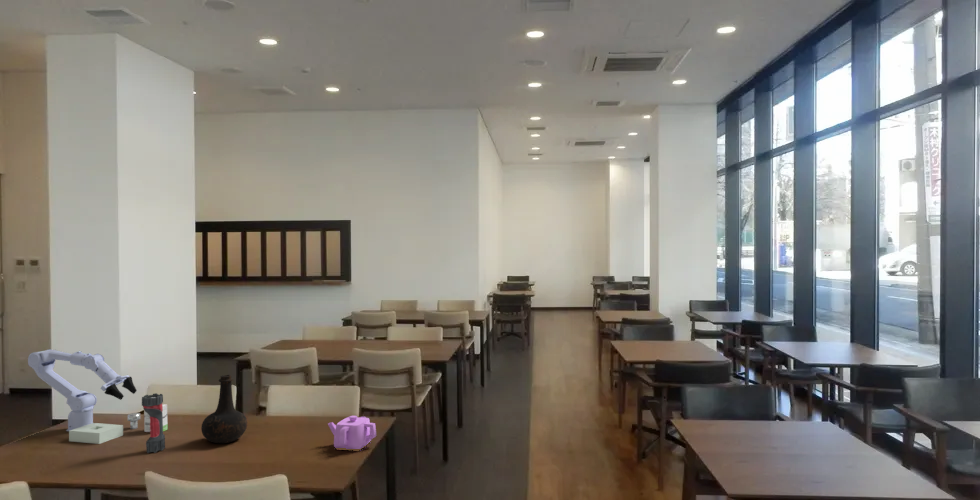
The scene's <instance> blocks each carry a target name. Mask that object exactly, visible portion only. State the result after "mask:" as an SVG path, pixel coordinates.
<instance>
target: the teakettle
mask: <svg viewBox="0 0 980 500" xmlns="http://www.w3.org/2000/svg"><path fill="white" fill-rule="evenodd" d="M327 425H328V427H329V429H330V431H331V433H332V434H333V447H335V448H346V449H361V448H363V447H364V446H366V445H367V444H368V443H369V442H370V441H372V440H373V439H374V438H376V437H377V429H376V423H374V422H370V418H369V417H366V416H360V417H358V416H357V415H349V416H347V417H345V418H344V419H342V420H340V421H339V422H337V424H335V423H334V422H333V421H332V422H329V423H328V422H327ZM370 443H371V442H370ZM335 448H334V449H335Z"/></svg>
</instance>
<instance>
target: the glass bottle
mask: <svg viewBox="0 0 980 500" xmlns="http://www.w3.org/2000/svg"><path fill="white" fill-rule="evenodd" d="M233 381H234V378H232V374H226V375H223V374H222V375H220V377H219V379H218V382H220V383H219V384H220V387H219V394H218V395H219V396H218V402H217V406H216V409H215V411H214V412H211V413H210V414H209V415H207V416H205V418H204V419H203V421H202V423H201V433H202V436H203V437H204V438H205V439H206V440H207V441H208V442H211V443H215V444H228V443H233V442H235V441H237V440H238V439H240V438H241V437H242V435H243V434H244V433H245V432H246V431H247V429H248V419H247V417H246V415H245V414H244V413H242V412H241V411H239V410H237V409H235V405H234V400H233V388H232V382H233Z"/></svg>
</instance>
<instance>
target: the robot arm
mask: <svg viewBox="0 0 980 500" xmlns="http://www.w3.org/2000/svg"><path fill="white" fill-rule="evenodd" d="M56 360H57V361H65V362H69V363H70V364H71V365H74V366H80V367H84V368H85V369H87V370H91V371H92V372H94V373H95V374H96V375H97V376H98V377H99V378H100V379H101V380H102V381H103V382H104V384H102V385H101V387H100V390H102V391H103V392H104V394H105V395H109V396H113V397H114V398H117V399H118V400H121V401H122V399H123V398H124V397H125V395H124V394H123V393H122V392H121V391H120V390H119V388H118V387H117V386H118V385H119V384H122V385H121V387H122V388H124V389H126V390H128V391H129V392H130V393H131V394H133V395H134V394H136V393H137V388H136V386H135V384H134V382H133V378H132V376H130V375H129V374H127V375H121V374H118V372H116V371H115V370H114V369H113V368H112V367H111V366H109V364H108V363H106V362H105V358H104V356H103V354H100V353H95V354H92V353H91V352H89V353H84V352H82V351H80V350H79V351H75V352H72V353H69V352H67V351H66V352H65V351H62V350H61V351H60V350H57V349H50V348H49V349H46V350H42V351H33V352H31V353H30V354H29V355H28V357H27V363H28V364H27V365H28V366H29V368H32V369H33V370H34V373H35V374H36V376H37V377H38V378H39V379H41V380H42V381H43V382H45V383H46V384H47V385H48V386H49V387H51V388H52V389H54V390H55V391H56V392H58V393H59V394H60V395H62V396H63V397H64V398H66V404H67V405H68V406H69V408H70V409H71V411H70V412H69V413H68V416H67V429H66V430H65V431H66V432H69V431H70V430H73V429H76V428H79V427H82V426H85V425H89V424H92V423H94V407H95V406H96V404H97V402H98V398H97V396H96V395H95V394H94V393H91V392H88V391H87V390H81V389H79V388H77V387H76V386H75V385H73V384H72V383H70V382H69V381H68V380H67V379H65V378H64V377H62V376H61V375H60V374H59V373H57V372H55V371H54V368H55V364H56Z"/></svg>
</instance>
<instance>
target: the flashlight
mask: <svg viewBox="0 0 980 500" xmlns="http://www.w3.org/2000/svg"><path fill="white" fill-rule="evenodd" d="M163 403H164V395H163V393H160V394H158V393H152V394H145V395H143V396H141V406H142V408H143V411H145V412H147V413H148V414H149V416H150V430H151V431H150V432H149V435H150V436H149V437H148V439H147V440H146V441H145V445H146V446H145V447H146V453H147V454H150V453H154V454H155V453H158V452H159V451H160V452H161V451H164V449H166V436H165V434H164V431H163V416H162V410H163V407H162V404H163Z"/></svg>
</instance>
